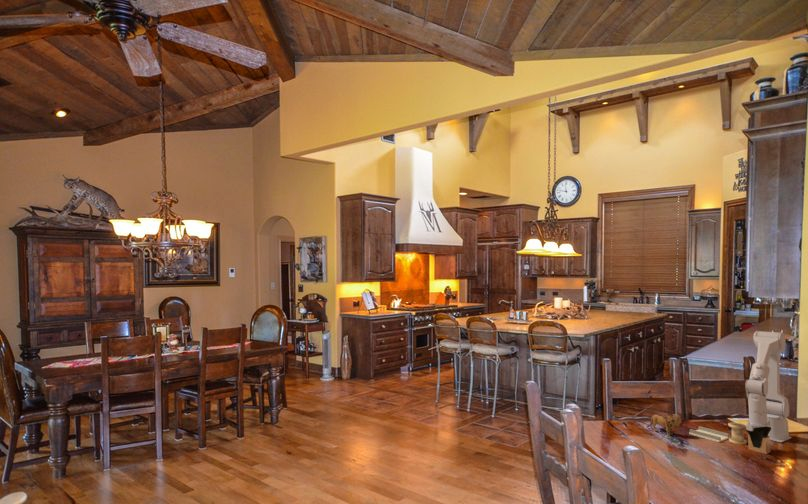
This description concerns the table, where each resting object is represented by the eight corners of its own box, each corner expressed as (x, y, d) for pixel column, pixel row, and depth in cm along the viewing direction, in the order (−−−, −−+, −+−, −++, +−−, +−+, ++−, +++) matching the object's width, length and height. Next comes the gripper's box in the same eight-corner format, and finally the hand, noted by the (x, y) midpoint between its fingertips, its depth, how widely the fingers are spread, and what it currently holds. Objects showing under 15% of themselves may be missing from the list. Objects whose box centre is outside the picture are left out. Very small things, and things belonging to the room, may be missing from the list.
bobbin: (733, 438, 202) (732, 421, 203) (749, 442, 197) (748, 425, 197) (725, 441, 199) (725, 424, 199) (742, 445, 194) (741, 428, 194)
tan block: (752, 447, 192) (752, 432, 193) (770, 452, 187) (769, 436, 187) (748, 449, 191) (747, 433, 191) (766, 454, 185) (765, 438, 186)
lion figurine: (683, 435, 207) (683, 414, 207) (677, 438, 204) (677, 416, 204) (649, 426, 219) (648, 406, 219) (643, 429, 216) (642, 408, 216)
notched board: (700, 430, 213) (700, 425, 213) (730, 438, 203) (730, 433, 203) (689, 434, 209) (688, 429, 209) (718, 442, 198) (718, 437, 198)
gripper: (760, 416, 182) (761, 453, 182) (778, 410, 190) (779, 445, 189) (739, 411, 188) (741, 447, 188) (757, 405, 196) (759, 440, 195)
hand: (759, 446), depth 189 cm, fingers closed on tan block, 3 cm apart
